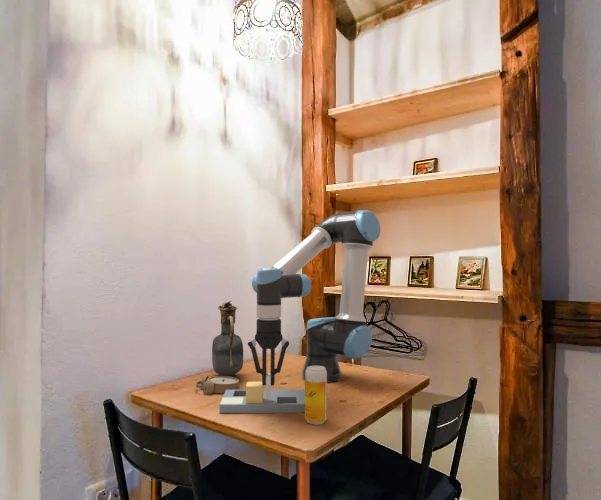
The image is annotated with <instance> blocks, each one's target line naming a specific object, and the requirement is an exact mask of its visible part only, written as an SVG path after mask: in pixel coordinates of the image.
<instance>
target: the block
mask: <svg viewBox="0 0 601 500" xmlns="http://www.w3.org/2000/svg"><path fill="white" fill-rule="evenodd" d="M263 389H264V386H263V385H262V381H247V382H246V385H245V390H246V403H262V402H263Z"/></svg>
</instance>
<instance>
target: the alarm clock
mask: <svg viewBox="0 0 601 500" xmlns="http://www.w3.org/2000/svg"><path fill="white" fill-rule="evenodd" d="M195 387H196V388H198V389H203V391H204V392H205V394H206V395H212V394H213V393H217V394H224V393H225V391H226V390H239V388H242V386H241V385H240V380H239V379H238V378H234V377H229V376H218V375H214V376H210V377H209V375H204V376H203V377H202V378H201V380H199V381H197V382H196V383H195Z"/></svg>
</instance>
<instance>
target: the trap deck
mask: <svg viewBox="0 0 601 500" xmlns="http://www.w3.org/2000/svg"><path fill="white" fill-rule="evenodd" d="M255 413H256V414H261V413H262V414H268V413H269V414H270V413H271V414H273V413H274V414H279V413H280V414H281V413H283V414H285V413H288V414H289V413H291V414H292V413H295V414H296V413H305V388H296V389H295V388H292V389H291V388H289V389H288V388H287V389H285V388H284V389H283V388H282V389H281V388H279V389H274V388H273V389H272V388H271V397H266V388H265V389H264V388H263V402H262V403H246V389H238V390H226V391H225V393H223V396H222V398H221V401H220V403H219V412H218V414H255Z"/></svg>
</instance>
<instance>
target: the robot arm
mask: <svg viewBox="0 0 601 500" xmlns="http://www.w3.org/2000/svg"><path fill="white" fill-rule="evenodd" d="M380 224H381V223H380V221H379V218H378V217H377V214H375V213H374V212H373V211H371V210H368V209H367V210H361V209H359V210H353V211H351V210H350V211H344V212H337V213H334V214H332V215H330V216H328V217H327V218H325V219H323V220H322V221H321V222H320V223H318V224H317V225H316V226H315V227H313V228H312V230H311V233H310V234H309V235H308V236H307V237H306V238H304V239H303V240H302V241H301V242H299V244H297V245H296V246H295V247H294V248H293V249H291V250H289V252H288V253H287V254H285V255H284V256H283V257H282V258H281V259H279V261H277V262H276V263H275V264H274V265H273V266H271V267H268V268H265V267H263V268H259V269H258V270H257V273H256V274H254V276H253V277H252V280H251V287H252V290H253V291H254V292H255V293H256V318H257V319H256V332H255V335H254V338H252V339H251V340H249V341H248V342H247V346H248V348H250V350H251V354H252V359H253V364H254V367H255V373H257V374H261V376H262V377H261V378H262V380H261V382H262V385H263V387H265V389H266V397H271V389H272V386H275V375H276V374H279V373H281V370H282V366H283V363H284V359H285V354H286V350H287V349H288V347H289V346H290V340H288V339H285V337H284V335H283V334H282V319H281V317H282V299H286V298H287V299H288V298H302V297H306V296H308V295H309V294H310V292H311V290H312V281H311V279H310V277H309V276H308V275H307V274H305V273H304V274H303V273H299V271H301V270H302V269H303V268H304V267H305V266H306V265H307V264H309V263H310V262H311V261H312V260H313V259H314V258H315V257H316V256H317V255H318V254H320V252H322V251H323V250H324V249H329V248H330V247H332V246H333V245H334V244H338V243H341V246H342V247H343V249H344V257H343V259H344V260H343V270H342V278H341V279H342V282H341V291H340V302H339V303H340V304H339V313H338V314H337V315H336V316H334V317H333V316H331V317H318V318H310V319H308V321H307V323H306V357H305V358H306V359H305V362H304V365H303V368H302V372H301V378H302V379H303V380H305V371H306V369H307V367H308V366H323V367H325V369H326V371H327V383H333V382H337V381H340V380H341V379H342V371H341V368H340V365H339V361H338V358H337V355H340V356H345V357H348V358H354V359H355V358H357V359H358V358H362V357H364V355H366V354H367V352H369V350H370V348H371V345H372V342H373V334H372V331H371V329H370V327H368V326H367V319H366V318H365V317H364V305H365V304H364V303H365V294H366V293H365V291H366V282H367V281H366V279H367V268H368V254H369V251H370V250H371V249H373V246H374V245H373V243H374V242H375V241H377V240H378V239H379V237H380V236H381V225H380ZM280 343H281V349H280V355H279V356H278V357H279V358H278V361H277V365H276V364H275V363H276V362H275V360H276V359H275V358H276V357H275V356H276V354H275V353H276V352H275V351H276V349H277V347H278V346H279V344H280ZM256 345H258V346H259V347H260V348H261V349H262V352H261V354H262V357H261V359H262V361H261V365H260V360H259V357H258V352H257V348H256ZM267 350H270V373H269V372H268V373H267V352H268V351H267ZM275 365H276V366H275Z"/></svg>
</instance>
